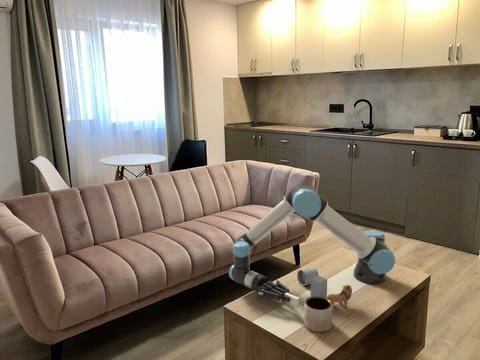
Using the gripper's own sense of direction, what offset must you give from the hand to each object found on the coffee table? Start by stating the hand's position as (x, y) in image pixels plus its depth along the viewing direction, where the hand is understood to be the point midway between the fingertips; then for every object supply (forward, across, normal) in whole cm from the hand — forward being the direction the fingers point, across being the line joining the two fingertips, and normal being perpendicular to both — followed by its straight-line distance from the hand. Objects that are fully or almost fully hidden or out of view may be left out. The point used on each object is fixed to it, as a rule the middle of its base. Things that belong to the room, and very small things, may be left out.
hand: (297, 301), depth 160 cm
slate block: (-1, -16, -6) cm, 17 cm away
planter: (+10, 0, -6) cm, 12 cm away
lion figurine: (+8, -17, -6) cm, 20 cm away
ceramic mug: (-15, -25, -6) cm, 30 cm away
